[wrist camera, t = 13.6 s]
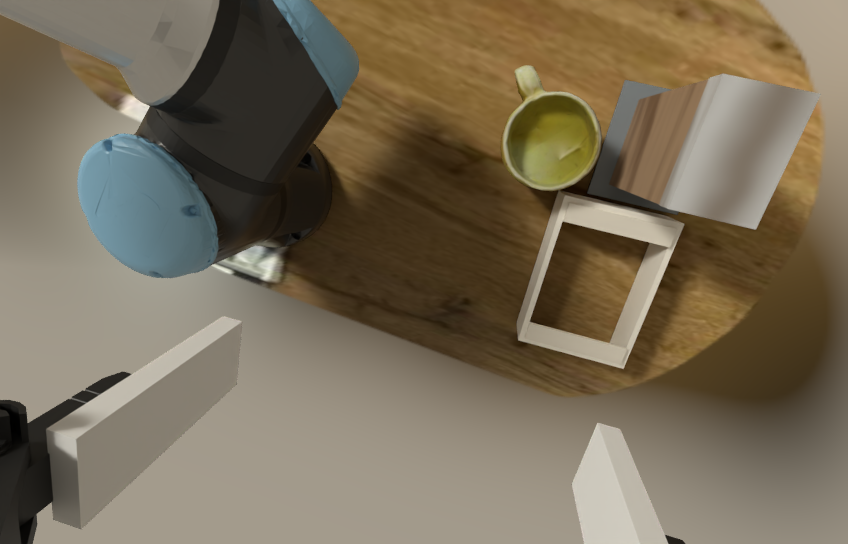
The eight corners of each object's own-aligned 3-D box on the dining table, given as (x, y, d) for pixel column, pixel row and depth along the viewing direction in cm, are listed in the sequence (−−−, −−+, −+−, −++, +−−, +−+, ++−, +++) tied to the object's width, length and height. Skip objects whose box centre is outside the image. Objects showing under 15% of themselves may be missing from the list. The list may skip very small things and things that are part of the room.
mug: (614, 185, 47) (602, 180, 38) (522, 201, 52) (492, 200, 43) (602, 69, 46) (586, 37, 37) (509, 97, 51) (476, 75, 42)
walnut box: (608, 184, 48) (668, 209, 31) (638, 98, 45) (723, 73, 28) (663, 197, 48) (755, 229, 31) (698, 111, 45) (820, 94, 28)
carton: (516, 322, 55) (518, 341, 50) (558, 190, 49) (565, 195, 44) (612, 348, 54) (624, 370, 49) (667, 215, 48) (687, 224, 43)
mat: (586, 193, 49) (587, 193, 49) (624, 80, 45) (625, 80, 45) (676, 214, 48) (677, 214, 48) (722, 101, 44) (724, 101, 44)
